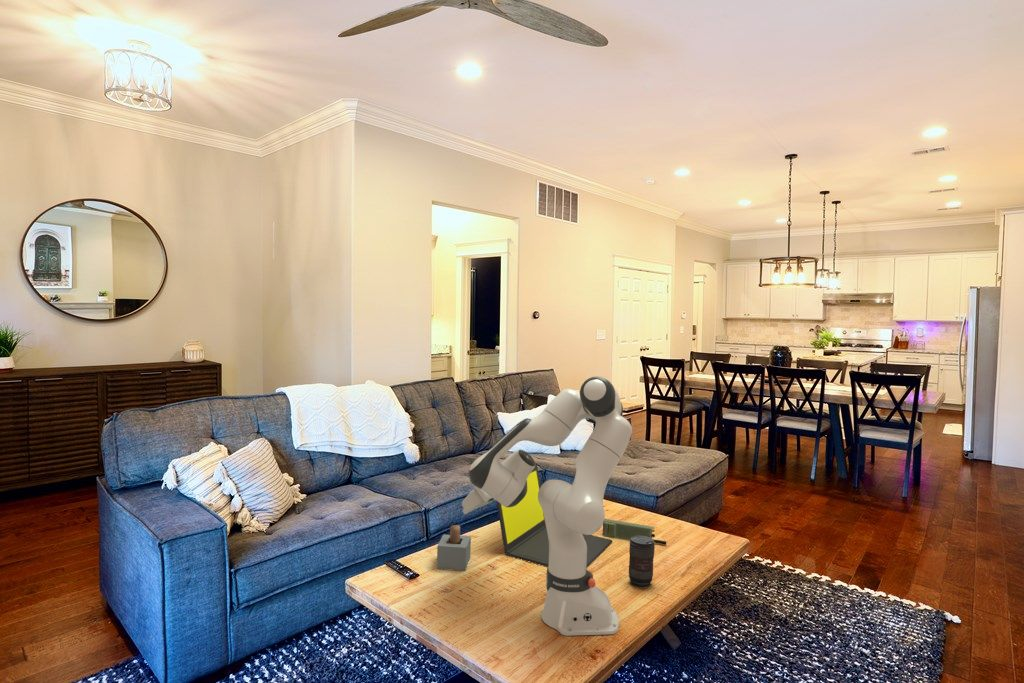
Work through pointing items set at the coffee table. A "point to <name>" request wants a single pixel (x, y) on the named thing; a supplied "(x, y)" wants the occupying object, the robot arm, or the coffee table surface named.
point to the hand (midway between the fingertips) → (473, 508)
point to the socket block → (453, 553)
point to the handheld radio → (627, 530)
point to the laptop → (535, 528)
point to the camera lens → (641, 561)
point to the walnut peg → (454, 534)
